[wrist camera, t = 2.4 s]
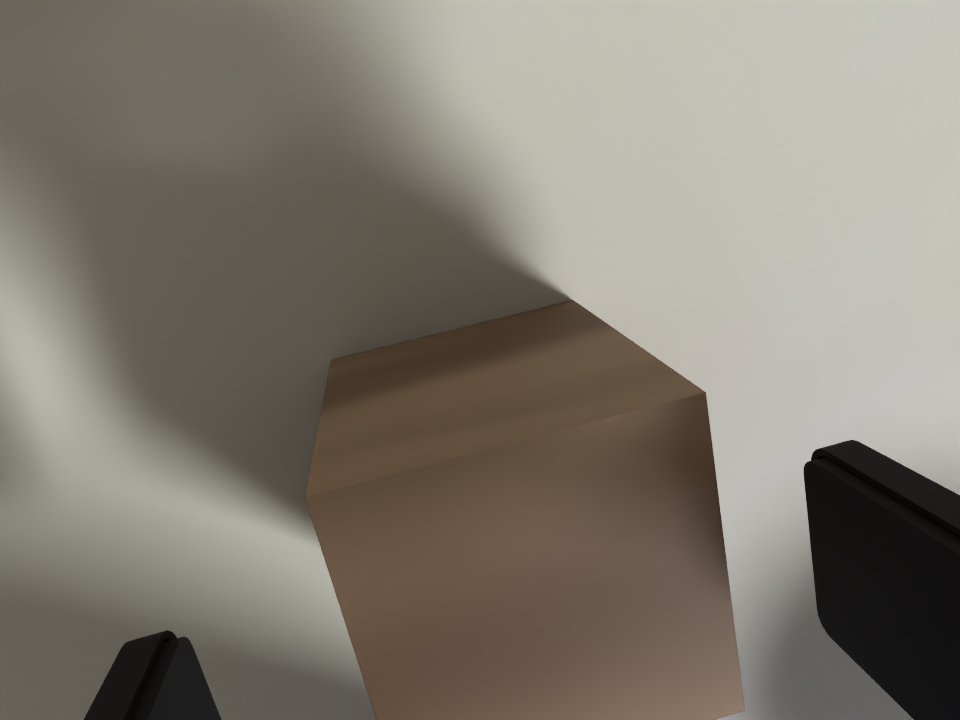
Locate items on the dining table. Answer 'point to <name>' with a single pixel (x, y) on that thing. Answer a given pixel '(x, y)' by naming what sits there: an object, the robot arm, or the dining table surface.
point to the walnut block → (526, 526)
